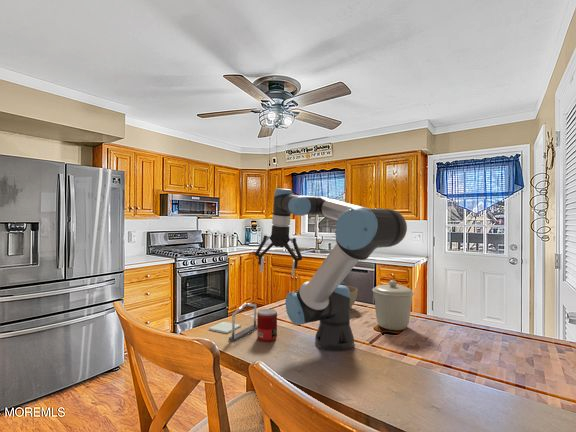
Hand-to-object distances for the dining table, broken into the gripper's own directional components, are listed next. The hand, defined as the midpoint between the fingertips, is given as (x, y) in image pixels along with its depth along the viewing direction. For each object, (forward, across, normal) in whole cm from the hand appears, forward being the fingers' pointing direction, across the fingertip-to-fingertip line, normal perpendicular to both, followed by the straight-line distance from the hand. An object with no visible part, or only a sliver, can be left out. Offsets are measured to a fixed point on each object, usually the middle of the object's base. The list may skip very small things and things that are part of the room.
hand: (277, 273), depth 139 cm
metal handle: (+26, +11, +6) cm, 29 cm away
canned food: (+24, +1, +10) cm, 27 cm away
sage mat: (+27, +21, +1) cm, 34 cm away
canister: (+22, -53, -11) cm, 59 cm away
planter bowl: (+27, -32, -37) cm, 56 cm away
